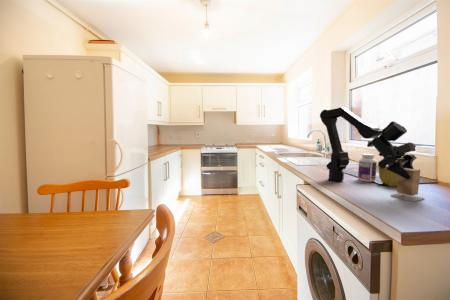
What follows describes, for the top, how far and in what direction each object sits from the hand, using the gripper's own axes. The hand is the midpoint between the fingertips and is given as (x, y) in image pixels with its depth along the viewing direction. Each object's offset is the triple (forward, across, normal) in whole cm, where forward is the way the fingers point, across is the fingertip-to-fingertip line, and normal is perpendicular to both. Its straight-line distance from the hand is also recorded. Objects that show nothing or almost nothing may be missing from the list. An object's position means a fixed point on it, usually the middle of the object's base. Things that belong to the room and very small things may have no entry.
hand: (412, 178), depth 89 cm
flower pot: (-5, +17, +18) cm, 25 cm away
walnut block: (+4, 0, +6) cm, 7 cm away
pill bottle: (-13, +16, +25) cm, 33 cm away
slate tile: (+5, 0, +7) cm, 8 cm away
